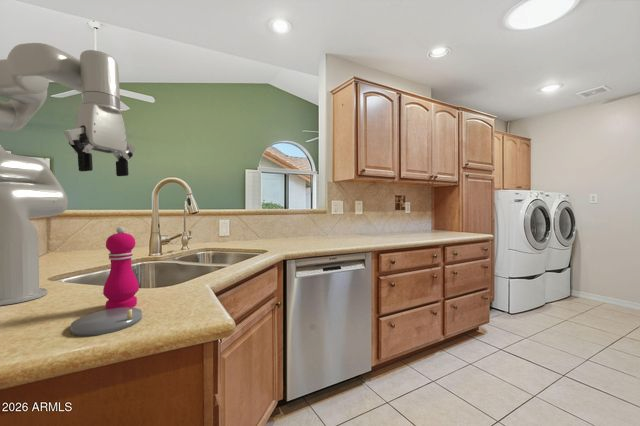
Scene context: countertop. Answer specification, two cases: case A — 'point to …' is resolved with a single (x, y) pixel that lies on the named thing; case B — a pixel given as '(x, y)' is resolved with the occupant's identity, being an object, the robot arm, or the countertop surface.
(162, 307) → the countertop surface
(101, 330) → the grey flat disc
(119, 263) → the pepper mill
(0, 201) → the robot arm
